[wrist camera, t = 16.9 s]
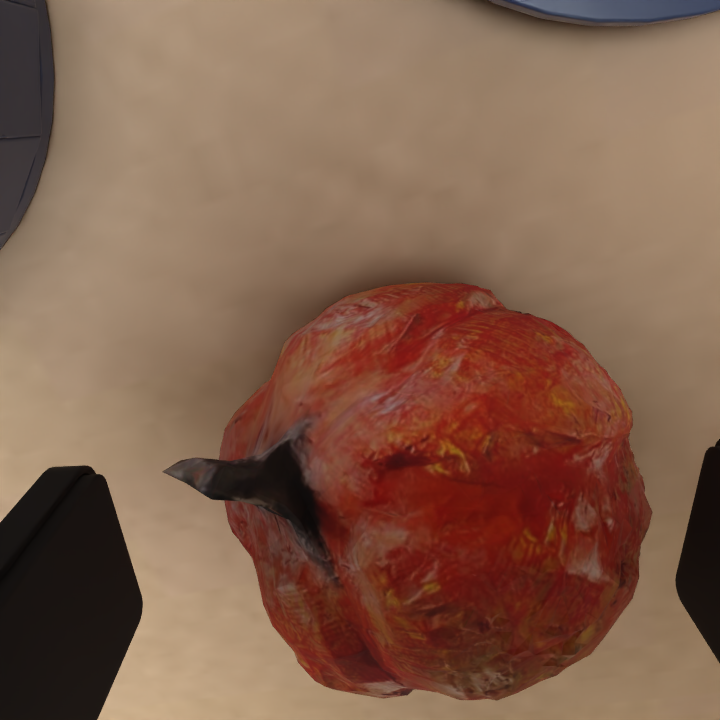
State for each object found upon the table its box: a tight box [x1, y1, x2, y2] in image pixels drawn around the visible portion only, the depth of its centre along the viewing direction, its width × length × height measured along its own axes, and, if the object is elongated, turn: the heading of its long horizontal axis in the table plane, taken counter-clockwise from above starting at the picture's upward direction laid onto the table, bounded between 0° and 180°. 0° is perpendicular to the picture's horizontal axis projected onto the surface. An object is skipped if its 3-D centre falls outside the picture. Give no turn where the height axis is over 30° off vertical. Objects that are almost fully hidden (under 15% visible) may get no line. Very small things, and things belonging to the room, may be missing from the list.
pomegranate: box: [163, 282, 652, 700], centre depth 11 cm, size 7×7×10 cm
